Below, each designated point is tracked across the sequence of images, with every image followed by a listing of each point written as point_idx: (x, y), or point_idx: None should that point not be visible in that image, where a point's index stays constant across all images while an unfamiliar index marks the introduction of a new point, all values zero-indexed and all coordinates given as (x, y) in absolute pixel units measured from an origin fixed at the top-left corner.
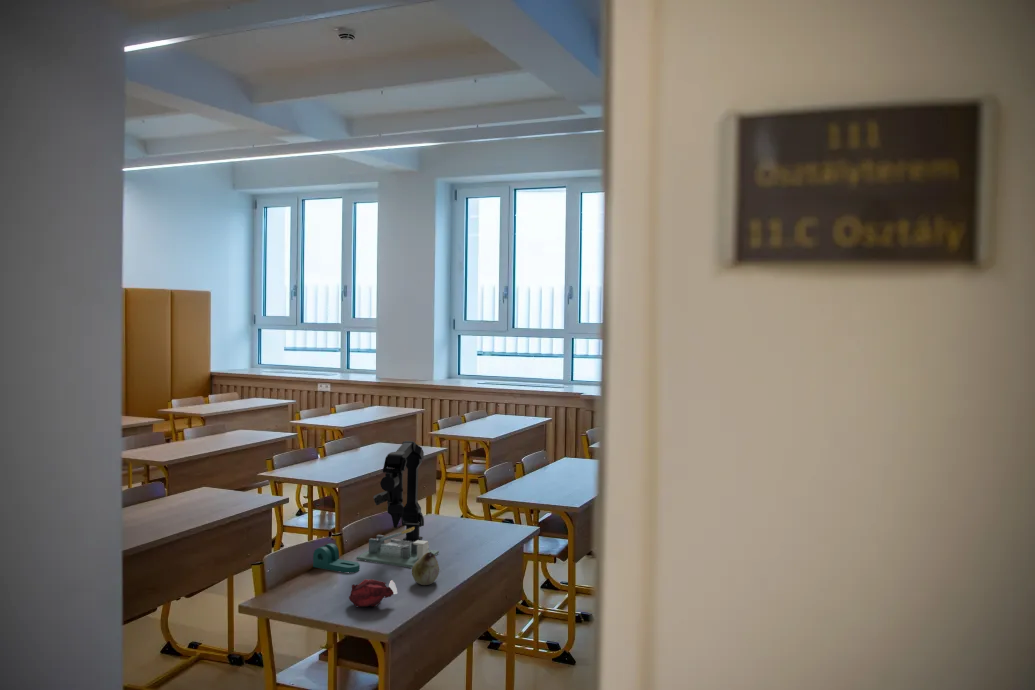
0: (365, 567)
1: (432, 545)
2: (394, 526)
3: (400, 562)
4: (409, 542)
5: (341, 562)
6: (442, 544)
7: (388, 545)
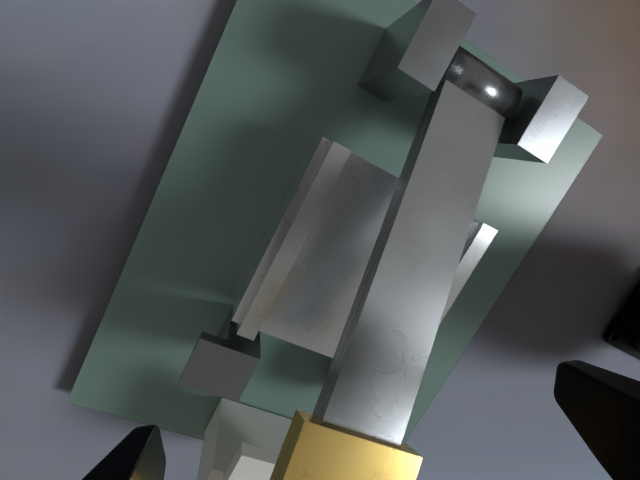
0: (55, 18)
1: (518, 427)
2: (120, 457)
3: (133, 300)
4: None
5: None
6: (524, 470)
7: (294, 219)
